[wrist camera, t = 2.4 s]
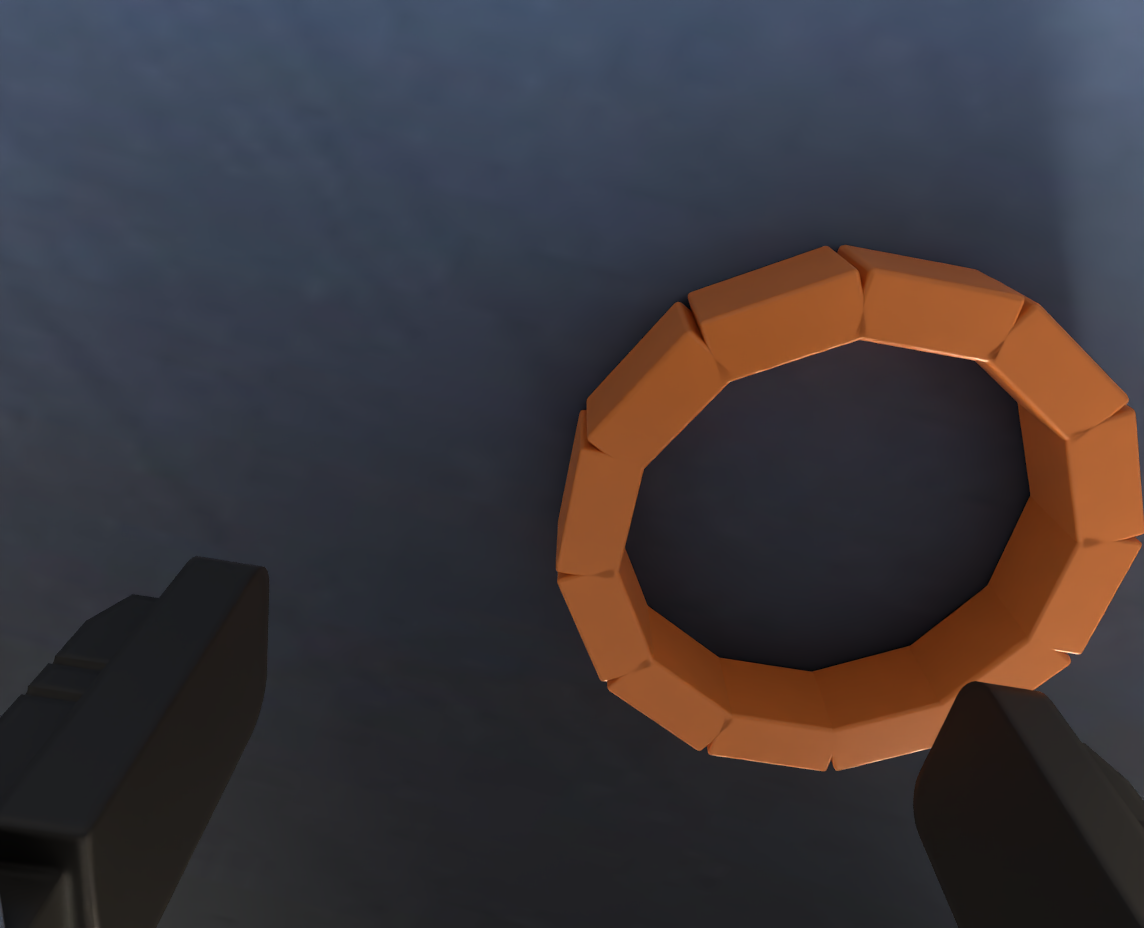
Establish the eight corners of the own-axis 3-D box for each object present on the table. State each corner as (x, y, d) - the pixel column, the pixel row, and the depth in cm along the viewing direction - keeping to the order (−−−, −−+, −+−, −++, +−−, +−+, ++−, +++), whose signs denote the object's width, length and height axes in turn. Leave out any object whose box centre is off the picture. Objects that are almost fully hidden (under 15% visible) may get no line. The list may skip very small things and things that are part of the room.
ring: (621, 201, 12) (626, 222, 11) (1184, 307, 13) (1259, 339, 12) (528, 669, 16) (522, 729, 15) (966, 734, 17) (1002, 799, 15)
